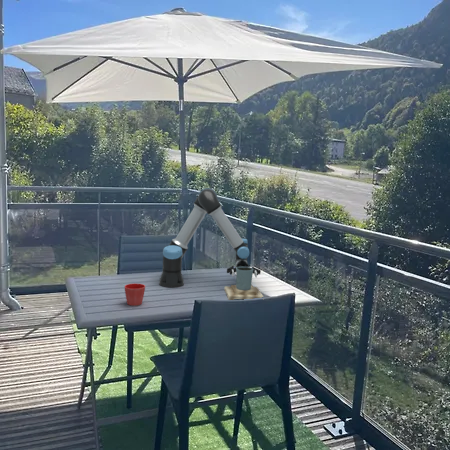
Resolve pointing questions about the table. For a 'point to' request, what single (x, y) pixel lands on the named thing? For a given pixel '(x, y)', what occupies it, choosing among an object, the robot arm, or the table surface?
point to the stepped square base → (242, 293)
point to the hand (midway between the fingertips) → (244, 274)
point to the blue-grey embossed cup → (244, 278)
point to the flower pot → (134, 294)
